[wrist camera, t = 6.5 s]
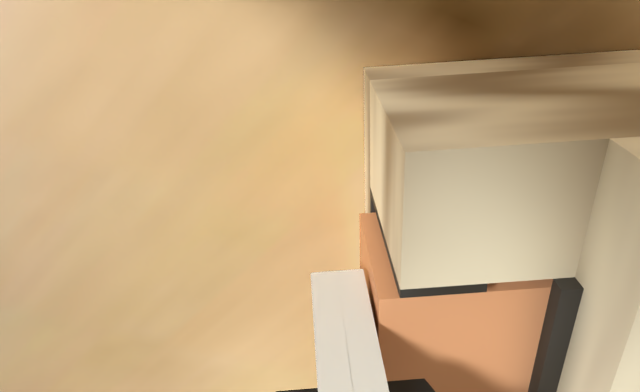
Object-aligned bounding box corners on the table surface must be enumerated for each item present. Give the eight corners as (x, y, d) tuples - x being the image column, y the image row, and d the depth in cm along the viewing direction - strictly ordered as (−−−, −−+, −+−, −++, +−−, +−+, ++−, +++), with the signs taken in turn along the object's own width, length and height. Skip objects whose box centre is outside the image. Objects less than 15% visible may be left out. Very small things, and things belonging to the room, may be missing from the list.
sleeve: (366, 349, 21) (405, 580, 14) (363, 67, 15) (429, 204, 8) (599, 332, 21) (761, 551, 14) (685, 46, 15) (1047, 161, 8)
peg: (360, 311, 17) (378, 410, 14) (359, 213, 15) (378, 300, 12) (643, 290, 17) (730, 383, 14) (677, 191, 15) (789, 270, 12)
